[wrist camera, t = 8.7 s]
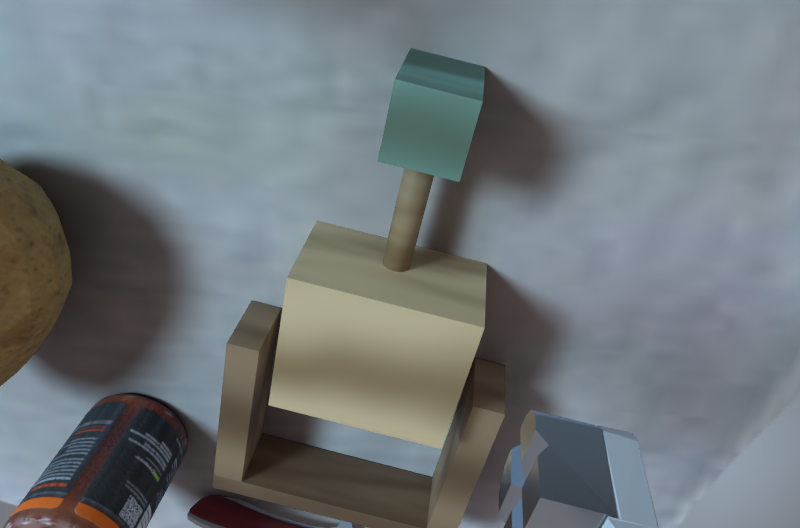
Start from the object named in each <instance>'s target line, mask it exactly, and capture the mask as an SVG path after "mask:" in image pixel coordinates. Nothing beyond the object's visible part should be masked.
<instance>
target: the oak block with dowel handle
mask: <svg viewBox="0 0 800 528" xmlns="http://www.w3.org/2000/svg"><path fill="white" fill-rule="evenodd" d="M485 68H486V67H483V66H479V65H475V64H471V63H467V62H463V61H459V60H455V59H452V58H448V57H444V56H440V55H436V54H432V53H428V52H424V51H420V50H416V49H412V48H411V49H410V51H409V53H408V55H407V57H406V59H405V61H404V63H403V65H402V67H401V69H400V71H399V72H398V74H397V76H396V78H395V82H394V87H393V92H392V96H391V101H390V106H389V110H388V115H387V120H386V125H385V129H384V134H383V139H382V144H381V148H380V153H379V158H378V162H382V163H386V164H390V165H394V166H398V167H402V168H404V173H403V177H402V181H401V185H400V189H399V194H398V198H397V202H396V206H395V211H394V215H393V219H392V223H391V228H390V232H389V236H388V238H384V237H380V236H376V235H372V234H368V233H364V232H361V231H357V230H353V229H349V228H345V227H341V226H337V225H333V224H329V223H325V222H321V221H317V222H316V224H315V225H314V227H313V229H312V231H311V233H310V235H309V237H308V239H307V241H306V243H305V244H304V246H303V248H302V250H301V252H300V254H299V256H298V258H297V260H296V262H295V263H294V265H293V267H292V269H291V271H290V273H289V275H288V277H287V281H286V288H285V295H284V302H283V308H282V315H281V322H280V329H279V336H278V342H277V349H276V356H275V363H274V370H273V376H272V383H271V390H270V397H269V404H268V405H270V406H273V407H277V408H281V409H285V410H289V411H293V412H297V413H301V414H305V415H309V416H313V417H317V418H321V419H325V420H328V421H332V422H336V423H340V424H344V425H348V426H352V427H356V428H360V429H364V430H368V431H372V432H376V433H380V434H383V435H387V436H391V437H395V438H399V439H403V440H407V441H411V442H415V443H419V444H423V445H427V446H431V447H434V448H438V449H442V446H443V444H444V441H445V438H446V435H447V432H448V430H449V427H450V424H451V421H452V418H453V416H454V413H455V410H456V407H457V404H458V402H459V399H460V396H461V393H462V390H463V388H464V385H465V382H466V379H467V376H468V374H469V371H470V368H471V365H472V362H473V360H474V357H475V354H476V351H477V348H478V345H479V343H480V340H481V337H482V334H483V331H484V329H485V306H486V278H487V264H486V263H483V262H479V261H475V260H471V259H467V258H463V257H459V256H455V255H451V254H447V253H443V252H439V251H435V250H431V249H427V248H424V247H420V246H416V242H417V238H418V234H419V230H420V226H421V223H422V219H423V215H424V211H425V208H426V204H427V200H428V196H429V192H430V189H431V185H432V181H433V177H434V176H437V177H441V178H445V179H449V180H453V181H457V182H460V179H461V176H462V172H463V169H464V165H465V162H466V158H467V155H468V151H469V148H470V144H471V141H472V138H473V134H474V131H475V127H476V124H477V120H478V117H479V113H480V110H481V106H482V103H483V94H484V81H485Z"/></svg>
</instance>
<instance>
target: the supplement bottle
mask: <svg viewBox="0 0 800 528" xmlns="http://www.w3.org/2000/svg"><path fill="white" fill-rule="evenodd" d="M187 443H188V441H187V436H186V432H185V429H184V427H183V425H182V423H181V422H180V421H179V419H178V418H177V417H176V416H175V415H174V414H173V413H172V412H171V411H170V410H169V409H168V408H166V407H164V406H163V405H161V404H159V403H158V402H156V401H154V400H151V399H149V398H146V397H144V396H139V395H135V394H116V395H111V396H108V397H105V398H103V399H101V400H100V401H98V402H97V403H96V404H95V405H94V406H93V407H92V408H91V410H90V411H89V412H88V413H87V414H86V415H85V417H84V418H83V420H82V421H81V422H80V424H79V425H78V426H77V428H76V429H75V430H74V432H73V433H72V435H71V436H70V437H69V439H68V440H67V441H66V443H65V444H64V445H63V447H62V448H61V449H60V451H59V452H58V454H57V455H56V456H55V457H54V459H53V460H52V461H51V463H50V464H49V466H48V467H47V468H46V469H45V471H44V472H43V474H42V475H41V476H40V478H39V479H38V480H37V482H36V483H35V484H34V486H33V487H32V488H31V490H30V491H29V492H28V494H27V495H26V497H25V498H24V499H23V500H22V502H21V503H20V505H19V506H18V508H17V509H16V510H15V512H14V513H13V514H12V515H11V517H10V518H9V520H8V521H7V523H6V525H5V526H4V528H147V526H148V524H149V522H150V520H151V518H152V516H153V514H154V512H155V510H156V509H157V507H158V505H159V503H160V501H161V499H162V498H163V496H164V494H165V492H166V490H167V488H168V486H169V484H170V482H171V480H172V479H173V477H174V475H175V473H176V471H177V469H178V467H179V465H180V463H181V461H182V459H183V457H184V455H185V453H186V449H187Z"/></svg>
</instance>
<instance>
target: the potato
mask: <svg viewBox="0 0 800 528" xmlns="http://www.w3.org/2000/svg"><path fill="white" fill-rule="evenodd" d="M72 284H73V282H72V268H71V255H70V250H69V247H68V244H67V241H66V238H65V235H64V232H63V229H62V226H61V223H60V219H59V217H58V214H57V212H56V210H55V207H54V206H53V204H52V203H51V201H50V200H49V198H48V197H47V195H46V193H45V192H44V190H43V189H42V187H41V186H40V185H39V184H38V183H36V182H35V181H33V180H32V179H30V178H29V177H27V176H26V175H24V174H22V173H21V172H19V171H18V170H16V169H15V168H13V167H12V166H10V165H9V164H7V163H6V162H4V161H3V160H1V159H0V386H1V385H2V384H4V383H5V382H6V381H7V380H8V379H10V378H11V377H12V376H13V375H14V374H16V373H17V372H18V371H19V370H20V369H21V368H22V367H23V366H24V364H25V363H26V362H27V361H28V360H29V359H30V358H31V357H32V356H33V355H34V354H35V353H36V352H37V350H38V349H39V347H40V346H41V345H42V343H43V342H44V340H45V339H46V338H47V336H48V335H49V333H50V332H51V330H52V328H53V327H54V325H55V323H56V321H57V319H58V317H59V315H60V313H61V311H62V309H63V307H64V304H65V302H66V299H67V297H68V294H69V291H70V289H71V286H72Z"/></svg>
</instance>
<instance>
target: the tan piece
mask: <svg viewBox="0 0 800 528" xmlns="http://www.w3.org/2000/svg"><path fill="white" fill-rule="evenodd" d="M280 311H281V308H279V307H275V306H271V305H267V304H263V303H259V302H255V301H251V303H250V304H249V306H248V308H247V310H246V311H245V313H244V315H243V316H242V318H241V320H240V322H239V323H238V325H237V327H236V328H235V330H234V332H233V334H232V335H231V337H230V339H229V340H228V342H227V348H226V358H225V368H224V377H223V387H222V397H221V407H220V417H219V427H218V437H217V447H216V457H215V467H214V477H213V488H217V489H221V490H225V491H229V492H233V493H236V494H240V495H244V496H248V497H252V498H256V499H260V500H264V501H268V502H271V503H275V504H279V505H283V506H287V507H291V508H295V509H299V510H303V511H307V512H310V513H314V514H318V515H322V516H326V517H330V518H334V519H338V520H342V521H346V522H349V523H353V524H357V525H361V526H365V527H369V528H458V527H459V524H460V522H461V520H462V517H463V515H464V512H465V510H466V508H467V505H468V503H469V500H470V498H471V496H472V493H473V491H474V488H475V486H476V484H477V481H478V479H479V476H480V474H481V472H482V469H483V467H484V464H485V462H486V460H487V457H488V455H489V452H490V450H491V448H492V445H493V443H494V440H495V438H496V436H497V433H498V431H499V428H500V426H501V424H502V421H503V419H504V416H505V365H501V364H497V363H493V362H489V361H485V360H481V359H477V358H475V361H474V364H473V366H472V369H471V372H470V375H469V378H468V380H467V383H466V386H465V389H464V391H463V394H462V397H461V400H460V402H459V405H458V408H457V411H456V413H455V416H454V419H453V422H452V425H451V427H450V430H449V433H448V436H447V438H446V441H445V444H444V447H443V449H442V452H441V455H440V458H439V461H438V463H437V466H436V469H435V472H434V474H433V477H429V476H425V475H421V474H417V473H413V472H409V471H406V470H402V469H398V468H394V467H390V466H386V465H382V464H378V463H374V462H370V461H367V460H363V459H359V458H355V457H351V456H347V455H343V454H339V453H335V452H331V451H328V450H324V449H320V448H316V447H312V446H308V445H304V444H300V443H296V442H293V441H289V440H285V439H281V438H277V437H273V436H269V435H265V434H262V430H263V424H264V417H265V411H266V404H267V397H268V391H269V384H270V377H271V371H272V364H273V357H274V351H275V344H276V338H277V331H278V324H279V318H280Z"/></svg>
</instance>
